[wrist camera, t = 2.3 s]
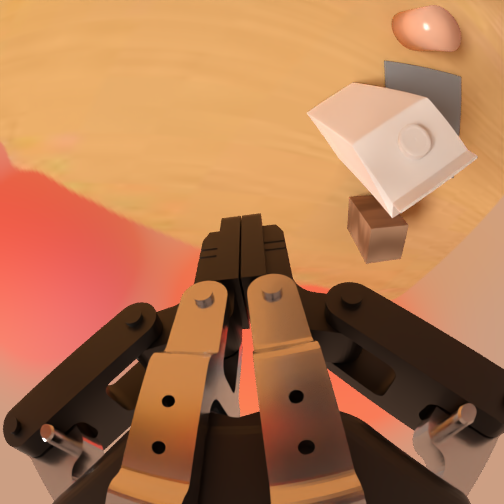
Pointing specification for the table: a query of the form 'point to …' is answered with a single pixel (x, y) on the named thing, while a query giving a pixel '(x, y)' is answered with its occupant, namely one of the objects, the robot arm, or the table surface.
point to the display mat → (428, 88)
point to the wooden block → (375, 230)
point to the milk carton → (391, 142)
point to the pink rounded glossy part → (427, 29)
